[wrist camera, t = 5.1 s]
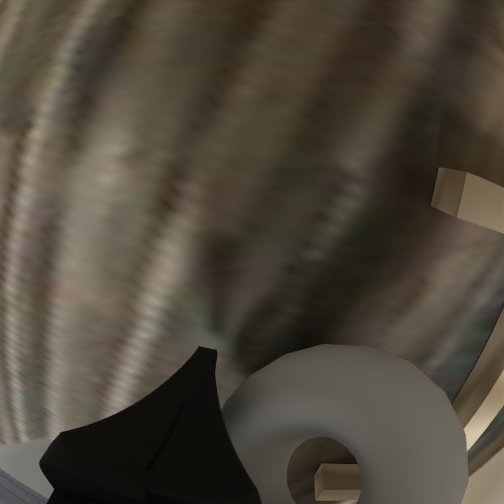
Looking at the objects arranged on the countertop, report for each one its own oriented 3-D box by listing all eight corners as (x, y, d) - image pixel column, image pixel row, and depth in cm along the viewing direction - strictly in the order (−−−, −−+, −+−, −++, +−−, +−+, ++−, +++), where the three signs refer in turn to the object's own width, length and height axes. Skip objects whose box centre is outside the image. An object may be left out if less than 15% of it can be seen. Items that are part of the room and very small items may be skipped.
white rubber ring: (336, 268, 10) (528, 521, 2) (372, 300, 12) (517, 488, 5) (157, 425, 12) (241, 622, 4) (213, 430, 14) (294, 593, 7)
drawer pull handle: (410, 482, 16) (416, 502, 14) (307, 485, 16) (307, 509, 14) (561, 189, 9) (588, 197, 7) (445, 128, 9) (473, 126, 7)
